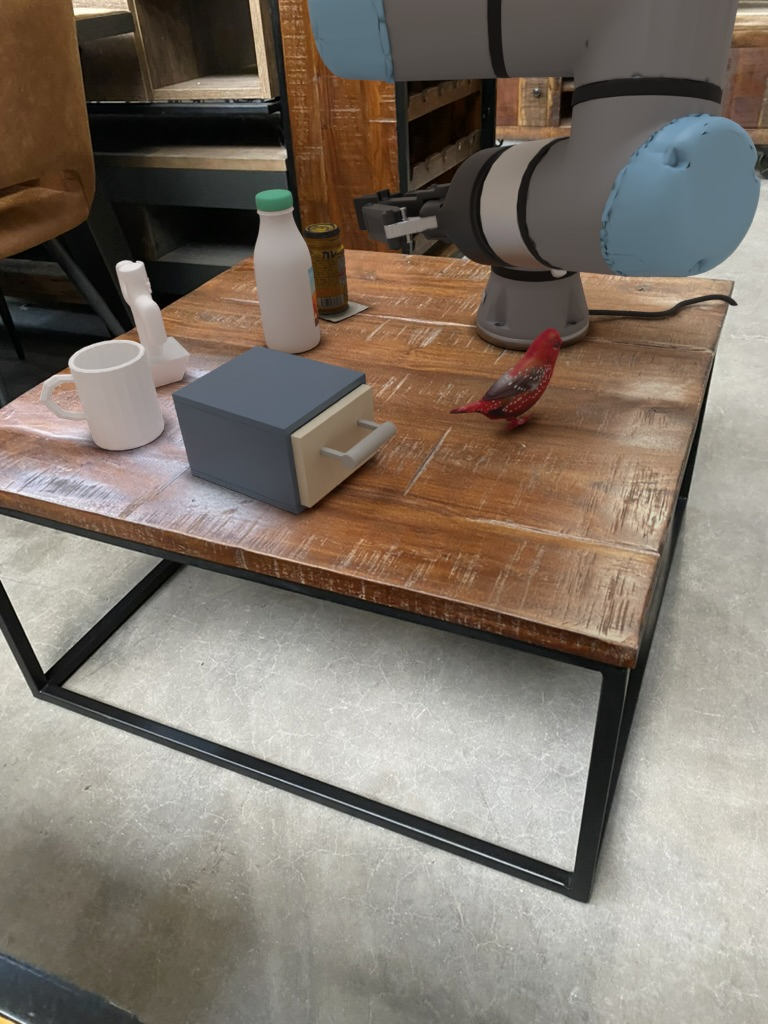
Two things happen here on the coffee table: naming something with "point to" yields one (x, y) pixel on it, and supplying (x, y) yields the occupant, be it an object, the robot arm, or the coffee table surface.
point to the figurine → (151, 325)
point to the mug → (112, 394)
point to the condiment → (329, 272)
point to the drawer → (337, 443)
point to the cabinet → (256, 420)
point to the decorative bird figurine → (520, 383)
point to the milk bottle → (284, 277)
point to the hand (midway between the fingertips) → (363, 212)
